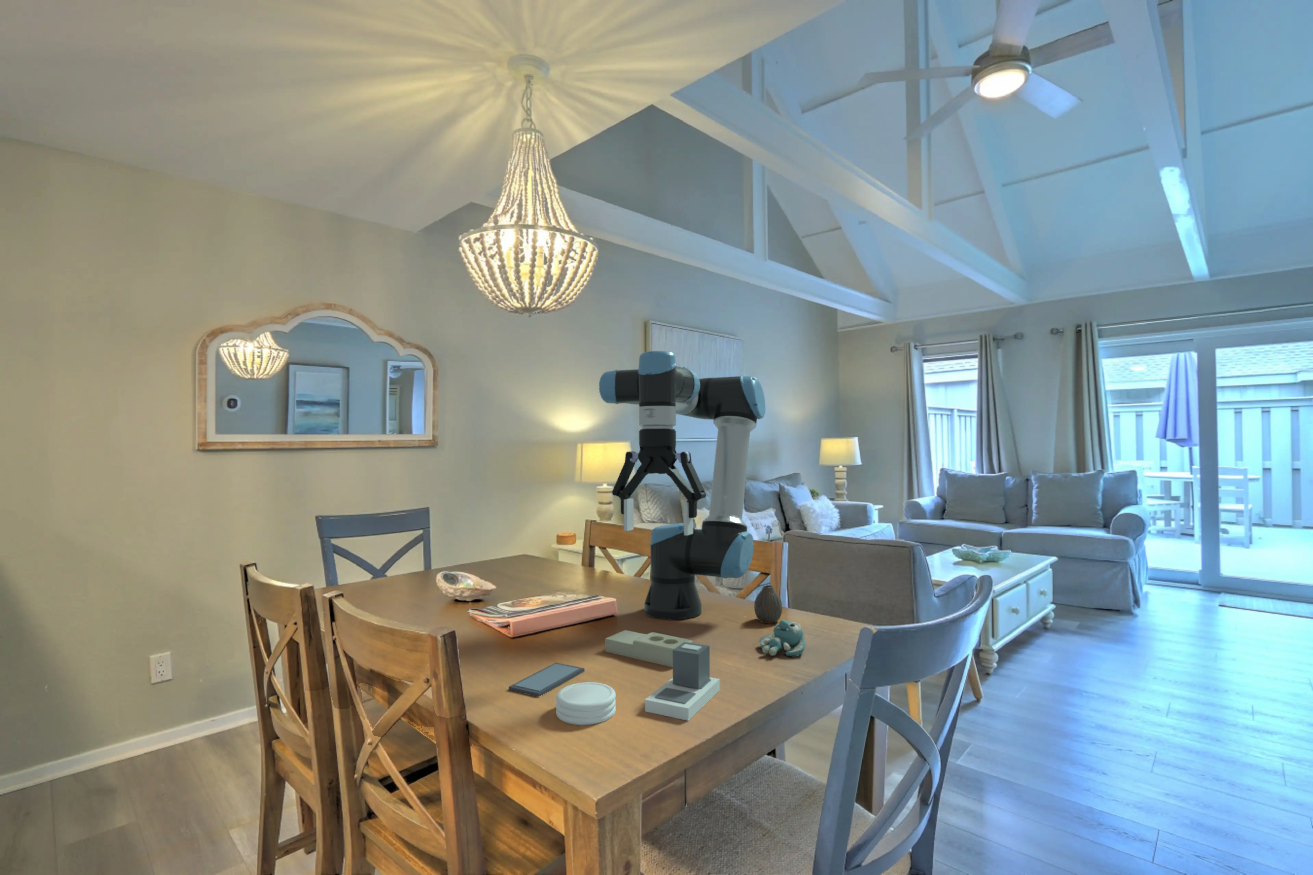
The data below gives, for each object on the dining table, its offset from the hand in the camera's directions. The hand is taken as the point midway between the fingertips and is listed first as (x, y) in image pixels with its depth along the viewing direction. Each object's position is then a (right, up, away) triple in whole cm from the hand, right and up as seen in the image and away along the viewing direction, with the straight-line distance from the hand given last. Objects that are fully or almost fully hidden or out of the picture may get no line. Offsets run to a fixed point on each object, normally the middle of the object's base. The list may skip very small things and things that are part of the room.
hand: (658, 532), depth 128 cm
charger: (+6, -24, -15) cm, 29 cm away
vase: (+28, -27, +30) cm, 49 cm away
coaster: (-12, -27, -22) cm, 37 cm away
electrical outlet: (-2, -27, +6) cm, 28 cm away
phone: (-21, -27, -8) cm, 35 cm away
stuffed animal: (+27, -27, +8) cm, 39 cm away
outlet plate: (+4, -27, -18) cm, 32 cm away
